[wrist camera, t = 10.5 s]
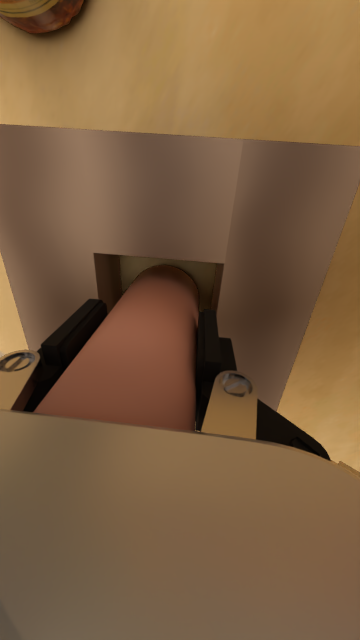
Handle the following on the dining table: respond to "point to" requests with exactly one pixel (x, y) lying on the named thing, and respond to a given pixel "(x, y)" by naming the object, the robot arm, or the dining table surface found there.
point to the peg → (137, 358)
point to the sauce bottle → (39, 13)
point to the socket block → (175, 228)
